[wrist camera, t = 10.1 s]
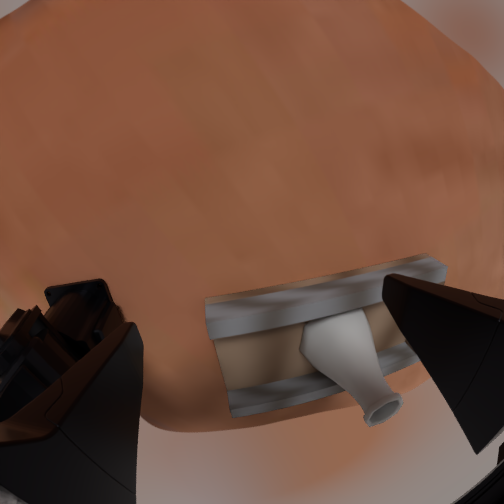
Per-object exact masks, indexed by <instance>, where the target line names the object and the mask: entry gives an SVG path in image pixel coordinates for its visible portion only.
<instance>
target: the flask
mask: <svg viewBox="0 0 504 504" xmlns="http://www.w3.org/2000/svg"><path fill="white" fill-rule="evenodd" d="M300 351H301V352H302V354H303V355H304V356H305V357H306V359H307V360H308V361H309V362H310V363H311V365H312V366H314V367H315V368H316V369H317V370H319V371H320V372H322V373H323V374H324V375H326V376H327V377H329V378H330V379H332V380H333V381H334V382H336V383H337V384H338V385H339V386H341V387H342V388H343V389H345V390H346V391H347V392H349V393H350V394H351V395H352V396H353V398H354V399H355V400H356V401H357V402H358V403H359V404H360V406H361V407H362V409H363V411H364V413H365V415H364V417H363V418H364V421H365V422H366V423H367V425H368V426H369V427H371V426H374V425H377V424H380V423H383V422H385V421H386V420H388V419H389V418H391V417H392V416H394V415H395V414H396V413H397V412H398V411H399V409H400V408H401V406H402V405H403V400H402V397H401V395H400V394H399V393H394V392H393V391H392V390H391V388H390V387H389V385H388V384H387V382H386V381H385V379H384V376H383V374H382V372H381V369H380V365H379V361H378V357H377V353H376V349H375V345H374V341H373V337H372V332H371V328H370V325H369V322H368V320H367V317H366V315H365V313H364V311H363V309H362V307H360V308H356V309H353V310H349V311H345V312H341V313H337V314H333V315H329V316H325V317H321V318H317V319H313V320H311V321H310V322H308V323H307V324H305V326H304V331H303V336H302V340H301V345H300Z"/></svg>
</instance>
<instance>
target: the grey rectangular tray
mask: <svg viewBox="0 0 504 504" xmlns="http://www.w3.org/2000/svg"><path fill="white" fill-rule="evenodd" d="M447 268H448V266H446V265H444V264H443V263H441V262H439V261H438V260H436V259H434V258H433V257H431V256H429V255H428V254H426V253H424V254H420V255H416V256H412V257H408V258H404V259H400V260H396V261H391V262H387V263H383V264H378V265H374V266H369V267H365V268H360V269H356V270H351V271H347V272H342V273H337V274H333V275H328V276H323V277H318V278H313V279H308V280H303V281H298V282H293V283H288V284H283V285H277V286H272V287H267V288H261V289H256V290H250V291H244V292H239V293H233V294H227V295H221V296H215V297H209V298H205V315H206V326H207V330H208V334H209V338H210V339H213V340H214V344H215V348H216V352H217V356H218V359H219V363H220V367H221V371H222V374H223V378H224V382H225V385H226V389H227V394H228V401H229V408H230V412H231V415H232V418H236V417H242V416H247V415H253V414H258V413H263V412H268V411H273V410H277V409H282V408H286V407H290V406H294V405H298V404H302V403H306V402H310V401H313V400H317V399H320V398H324V397H327V396H330V395H333V394H337V393H340V392H343V391H346V390H345V389H343V388H342V387H341V386H339V385H338V384H337V383H336V382H334V381H333V380H332V379H330V378H329V377H327V376H326V375H324V374H323V373H322V372H320V371H319V370H317V369H316V368H315V367H314V366H312V365H311V363H310V362H309V361H308V360H307V359H306V357H305V356H304V355H303V354H302V352H301V351H300V345H301V340H302V336H303V331H304V326H305V324H307V323H308V322H310V321H311V320H313V319H317V318H321V317H325V316H329V315H333V314H337V313H341V312H345V311H349V310H353V309H356V308H360V307H362V309H363V311H364V313H365V315H366V317H367V320H368V322H369V325H370V328H371V332H372V337H373V341H374V345H375V349H376V353H377V357H378V361H379V365H380V369H381V372H382V374H383V376H386V375H389V374H391V373H394V372H396V371H398V370H401V369H403V368H405V367H407V366H410V365H412V364H414V363H416V362H418V361H420V359H419V358H418V356H417V355H416V353H415V352H414V350H413V349H412V347H411V346H410V344H409V343H408V341H407V340H406V338H405V337H404V336H403V334H402V333H401V331H400V330H399V328H398V326H397V325H396V323H395V321H394V319H393V317H392V316H391V314H390V312H389V310H388V309H387V307H386V305H385V304H384V302H383V300H382V287H383V279H384V277H385V276H386V275H388V274H392V273H396V274H400V275H404V276H408V277H412V278H417V279H421V280H425V281H429V282H433V283H437V284H441V285H444V283H445V278H446V273H447Z"/></svg>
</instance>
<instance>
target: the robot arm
mask: <svg viewBox="0 0 504 504" xmlns="http://www.w3.org/2000/svg"><path fill="white" fill-rule="evenodd" d="M98 284H101V285H102V287H100V286H99V285H98ZM49 292H50V293H51V294H50V293H49ZM44 293H45V296H46V299H47V301H48V303H49V306H50V308H49V309H48V310H47V312H46V313H45V314H44V315H43V314H42V313H41V310H40V309H39V307H38V306H37V305H36V306H35V307H34V308H33V309H32V310H30V309H28V310H26V311H24V310H21V309H19V308H18V309H17V310H16V311H15V312H14V313H13V315H12V316H11V317H10V318H9V319H8V321H7V322H6V323H5V324H4V325H3V327H2V328H1V330H0V504H136V466H137V465H136V464H137V444H138V429H139V418H140V408H141V398H142V389H143V350H144V346H143V341H142V338H141V336H140V333H139V331H138V328H137V326H136V324H135V323H134V322H127V323H122V320H121V318H120V315H119V313H118V310H117V307H116V305H115V303H114V302H113V301H112V299H111V296H110V294H109V291H108V288H107V285H106V283H105V281H104V280H103V279H93V280H87V281H81V282H75V283H69V284H63V285H56V286H50V287H47V288H46V289H45V291H44ZM382 300H383V302H384V304H385V305H386V307H387V309H388V310H389V312H390V314H391V316H392V317H393V319H394V321H395V323H396V325H397V326H398V328H399V330H400V331H401V333H402V334H403V336H404V337H405V338H406V340H407V341H408V343H409V344H410V346H411V347H412V349H413V350H414V352H415V353H416V355H417V356H418V358H419V359H420V361H421V362H422V364H423V365H424V367H425V368H426V370H427V371H428V373H429V374H430V376H431V377H432V379H433V381H434V382H435V384H436V385H437V387H438V388H439V390H440V392H441V393H442V395H443V397H444V398H445V400H446V402H447V403H448V405H449V407H450V408H451V410H452V412H453V413H454V416H455V417H456V419H457V421H458V422H459V424H460V426H461V428H462V430H463V431H464V433H465V435H466V437H467V439H468V440H469V443H470V445H471V446H472V448H473V450H474V452H475V453H476V454H479V453H480V452H481V451H482V450H483V449H484V448H486V447H487V446H488V445H489V444H490V443H491V442H492V441H493V440H494V439H496V438H497V437H498V436H499V435H500V434H501V433H502V432H503V431H504V300H503V299H498V298H493V297H489V296H485V295H480V294H476V293H473V292H468V291H465V290H461V289H457V288H453V287H449V286H445V285H441V284H437V283H433V282H429V281H425V280H421V279H417V278H412V277H408V276H404V275H400V274H396V273H392V274H388V275H386V276H385V277H384V279H383V287H382ZM452 504H504V442H503V443H502V445H501V446H500V447H499V454H498V461H497V466H496V467H495V468H494V469H493V470H492V471H491V472H490V473H489V474H488V475H486V476H485V477H484V478H483V479H482V480H481V481H480V482H478V483H477V484H476V485H475V486H474V487H472V488H471V489H470V490H469V491H467V492H466V493H465V494H464V495H462V496H461V497H460V498H458V499H457V500H456V501H454V502H453V503H452Z"/></svg>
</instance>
